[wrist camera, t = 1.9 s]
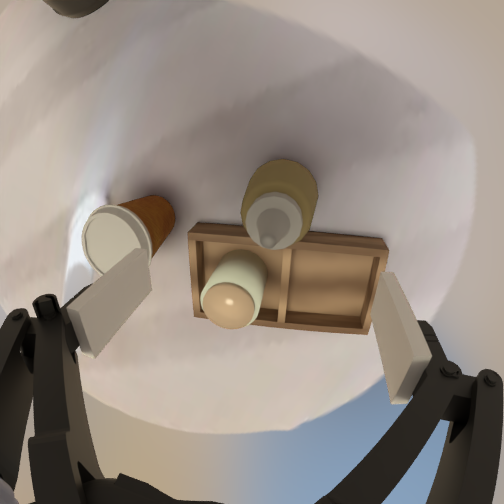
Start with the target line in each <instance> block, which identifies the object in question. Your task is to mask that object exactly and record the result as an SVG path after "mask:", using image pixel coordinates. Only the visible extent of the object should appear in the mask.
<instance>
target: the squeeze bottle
mask: <svg viewBox="0 0 504 504" xmlns="http://www.w3.org/2000/svg"><path fill="white" fill-rule="evenodd" d="M317 199H318V191H317V184H316V181H315V180H314V178H313V176H312V175H311V173H310V172H309V170H307V169H306V168H305V167H303V166H302V165H300V164H299V163H298V162H294V161H290V160H286V159H280V160H274V161H269V162H267V163H266V164H264V165H263V166H261V167H259V168H258V169H257V170H256V172H255V173H254V175H253V176H252V178H251V179H250V181H249V184H248V187H247V190H246V192H245V195H244V198H243V202H242V207H241V212H240V213H241V218H242V222H243V226H244V228H245V229H246V231H247V233H248V234H249V235H250V237H251V238H252V240H253V241H254V242H255V243H257V244H258V245H260V246H261V247H263V248H267V249H271V250H278V249H284V248H286V247H289V246H291V245H293V244H295V243H297V242H298V241H300V240H302V238H303V237H304V236H305V235H306V233H307V232H308V231H309V230H310V226H311V222H312V219H313V215H314V211H315V207H316V203H317Z"/></svg>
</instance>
